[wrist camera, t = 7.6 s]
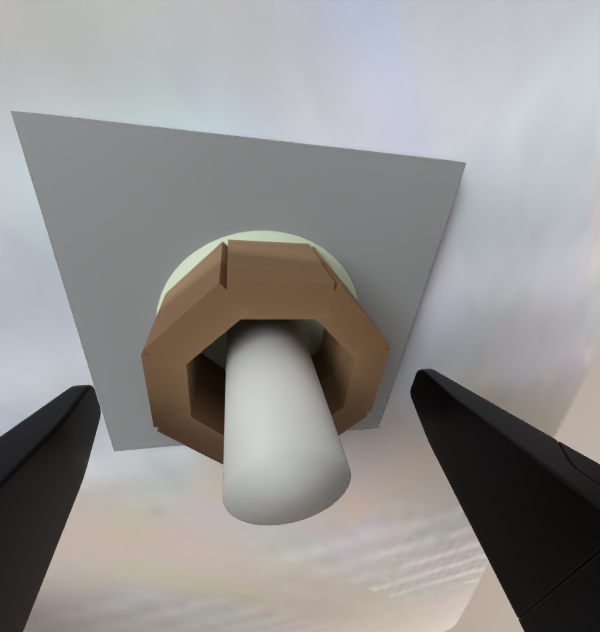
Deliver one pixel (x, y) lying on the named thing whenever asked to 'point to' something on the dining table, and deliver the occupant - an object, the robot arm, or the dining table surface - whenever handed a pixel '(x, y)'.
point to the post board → (220, 225)
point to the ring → (255, 303)
